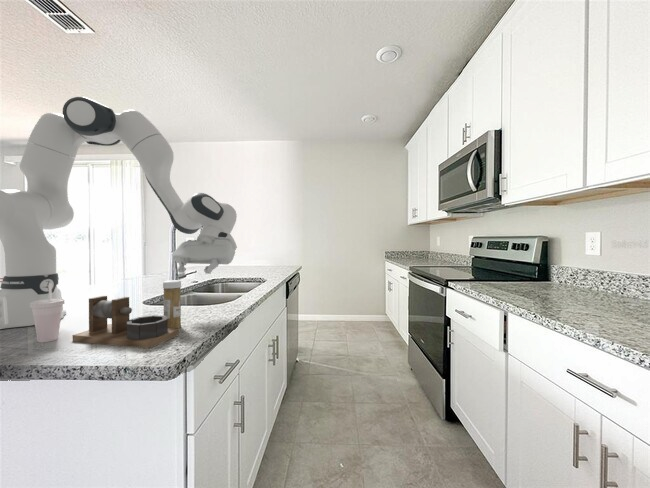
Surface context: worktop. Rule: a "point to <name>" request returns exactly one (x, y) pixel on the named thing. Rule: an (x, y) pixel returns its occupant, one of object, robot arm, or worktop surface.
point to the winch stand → (123, 325)
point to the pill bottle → (172, 303)
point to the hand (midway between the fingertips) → (193, 272)
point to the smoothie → (47, 317)
